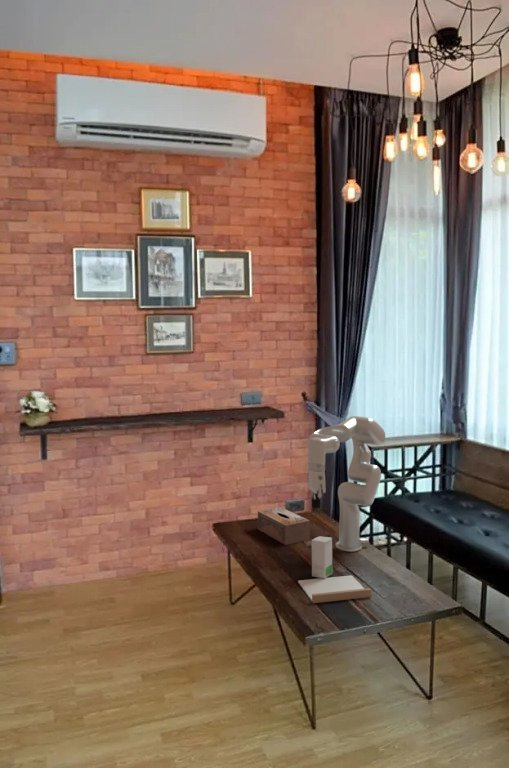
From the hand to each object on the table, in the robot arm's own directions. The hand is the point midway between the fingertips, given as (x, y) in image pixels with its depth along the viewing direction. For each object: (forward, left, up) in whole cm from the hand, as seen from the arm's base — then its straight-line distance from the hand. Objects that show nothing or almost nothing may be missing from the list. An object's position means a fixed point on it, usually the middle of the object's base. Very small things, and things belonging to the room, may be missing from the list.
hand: (315, 507), depth 262 cm
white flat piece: (0, +22, -27) cm, 35 cm away
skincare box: (0, +9, -27) cm, 28 cm away
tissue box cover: (+2, -43, -28) cm, 51 cm away
